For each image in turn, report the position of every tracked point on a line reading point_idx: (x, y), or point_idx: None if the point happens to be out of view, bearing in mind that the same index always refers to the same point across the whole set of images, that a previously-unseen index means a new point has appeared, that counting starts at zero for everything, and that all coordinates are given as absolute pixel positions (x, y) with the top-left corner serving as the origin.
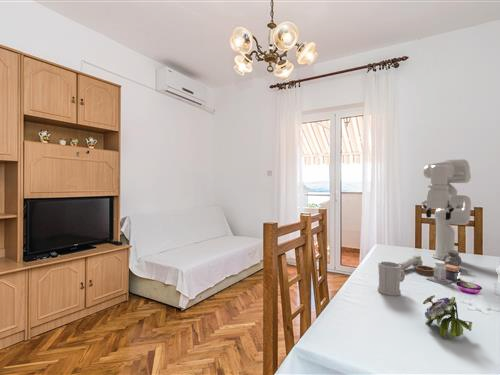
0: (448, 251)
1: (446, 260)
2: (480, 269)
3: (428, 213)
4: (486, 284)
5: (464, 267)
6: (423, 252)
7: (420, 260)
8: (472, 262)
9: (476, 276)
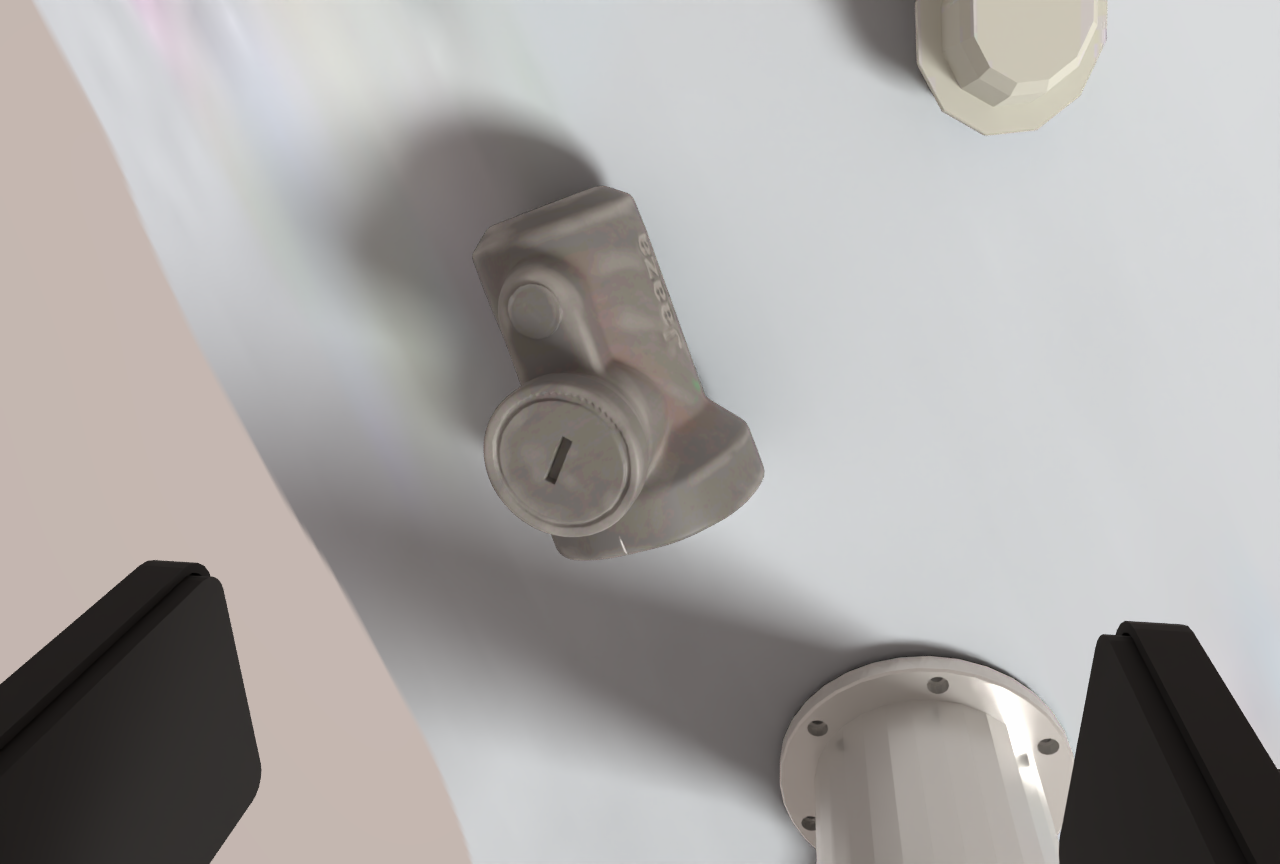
0: (604, 400)
1: (609, 259)
2: (454, 613)
3: (1177, 830)
4: (71, 16)
5: None
6: None
7: (945, 16)
8: (646, 830)
9: (306, 268)
